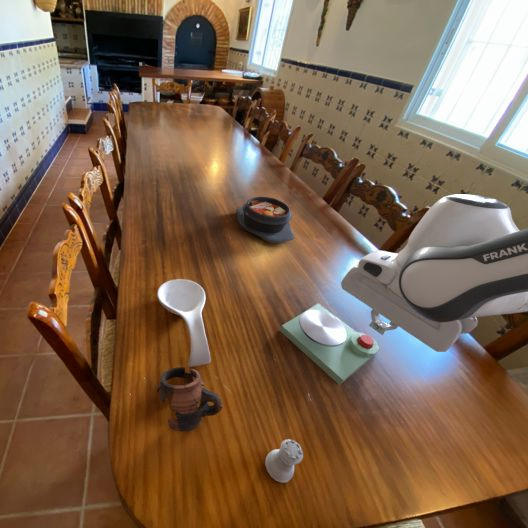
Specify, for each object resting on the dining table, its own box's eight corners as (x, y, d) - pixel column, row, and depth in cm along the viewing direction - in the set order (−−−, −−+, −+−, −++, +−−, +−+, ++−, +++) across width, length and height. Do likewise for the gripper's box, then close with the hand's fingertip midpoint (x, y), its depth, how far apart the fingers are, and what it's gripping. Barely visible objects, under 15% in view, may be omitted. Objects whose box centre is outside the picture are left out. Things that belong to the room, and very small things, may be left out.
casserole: (223, 213, 112) (227, 192, 107) (264, 207, 118) (270, 187, 113) (259, 251, 95) (266, 229, 89) (306, 242, 100) (315, 221, 95)
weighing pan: (354, 334, 66) (355, 332, 66) (327, 354, 62) (328, 353, 61) (316, 305, 72) (317, 304, 72) (289, 322, 68) (290, 320, 68)
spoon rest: (153, 290, 78) (153, 270, 73) (195, 285, 80) (199, 265, 76) (173, 371, 60) (175, 351, 56) (227, 361, 63) (233, 341, 58)
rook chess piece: (282, 448, 51) (297, 428, 45) (297, 477, 47) (316, 460, 42) (259, 456, 49) (272, 437, 44) (274, 488, 46) (289, 471, 41)
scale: (376, 355, 67) (384, 345, 64) (340, 386, 60) (348, 377, 58) (315, 308, 77) (320, 298, 74) (279, 330, 70) (283, 321, 68)
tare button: (372, 345, 65) (376, 341, 64) (366, 350, 64) (369, 346, 63) (361, 337, 66) (364, 332, 65) (355, 342, 65) (358, 337, 64)
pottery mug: (151, 431, 52) (147, 388, 50) (168, 398, 61) (165, 361, 59) (220, 442, 48) (218, 396, 47) (227, 406, 57) (226, 366, 56)
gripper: (491, 310, 48) (438, 360, 56) (370, 246, 61) (342, 294, 69) (477, 326, 45) (424, 376, 53) (352, 255, 58) (326, 304, 66)
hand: (377, 329), depth 61 cm, fingers closed
